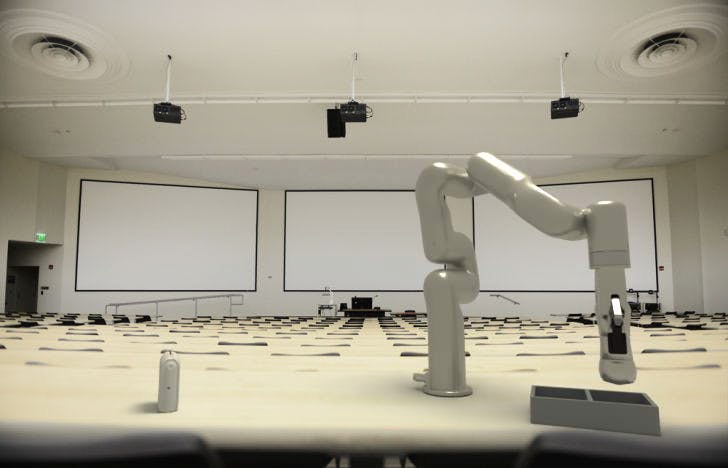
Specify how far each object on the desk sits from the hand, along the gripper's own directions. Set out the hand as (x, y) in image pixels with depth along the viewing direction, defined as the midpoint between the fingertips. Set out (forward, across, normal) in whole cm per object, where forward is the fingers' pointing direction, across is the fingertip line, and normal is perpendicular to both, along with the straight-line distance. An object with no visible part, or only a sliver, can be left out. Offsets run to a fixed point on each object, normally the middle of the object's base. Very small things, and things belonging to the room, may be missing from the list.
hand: (615, 351), depth 92 cm
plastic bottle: (+7, 0, 0) cm, 7 cm away
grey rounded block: (+14, +22, -93) cm, 97 cm away
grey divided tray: (+14, 0, -5) cm, 15 cm away
